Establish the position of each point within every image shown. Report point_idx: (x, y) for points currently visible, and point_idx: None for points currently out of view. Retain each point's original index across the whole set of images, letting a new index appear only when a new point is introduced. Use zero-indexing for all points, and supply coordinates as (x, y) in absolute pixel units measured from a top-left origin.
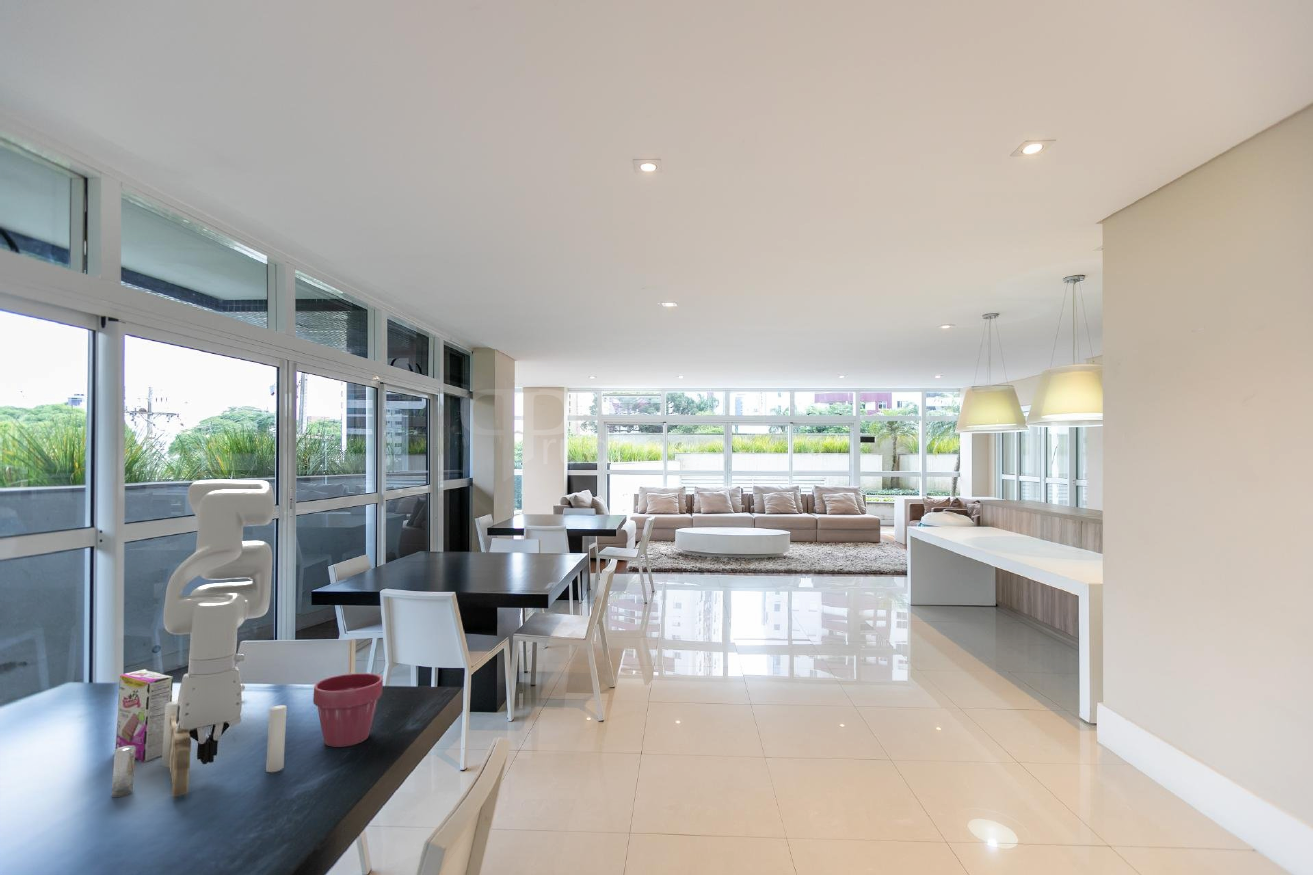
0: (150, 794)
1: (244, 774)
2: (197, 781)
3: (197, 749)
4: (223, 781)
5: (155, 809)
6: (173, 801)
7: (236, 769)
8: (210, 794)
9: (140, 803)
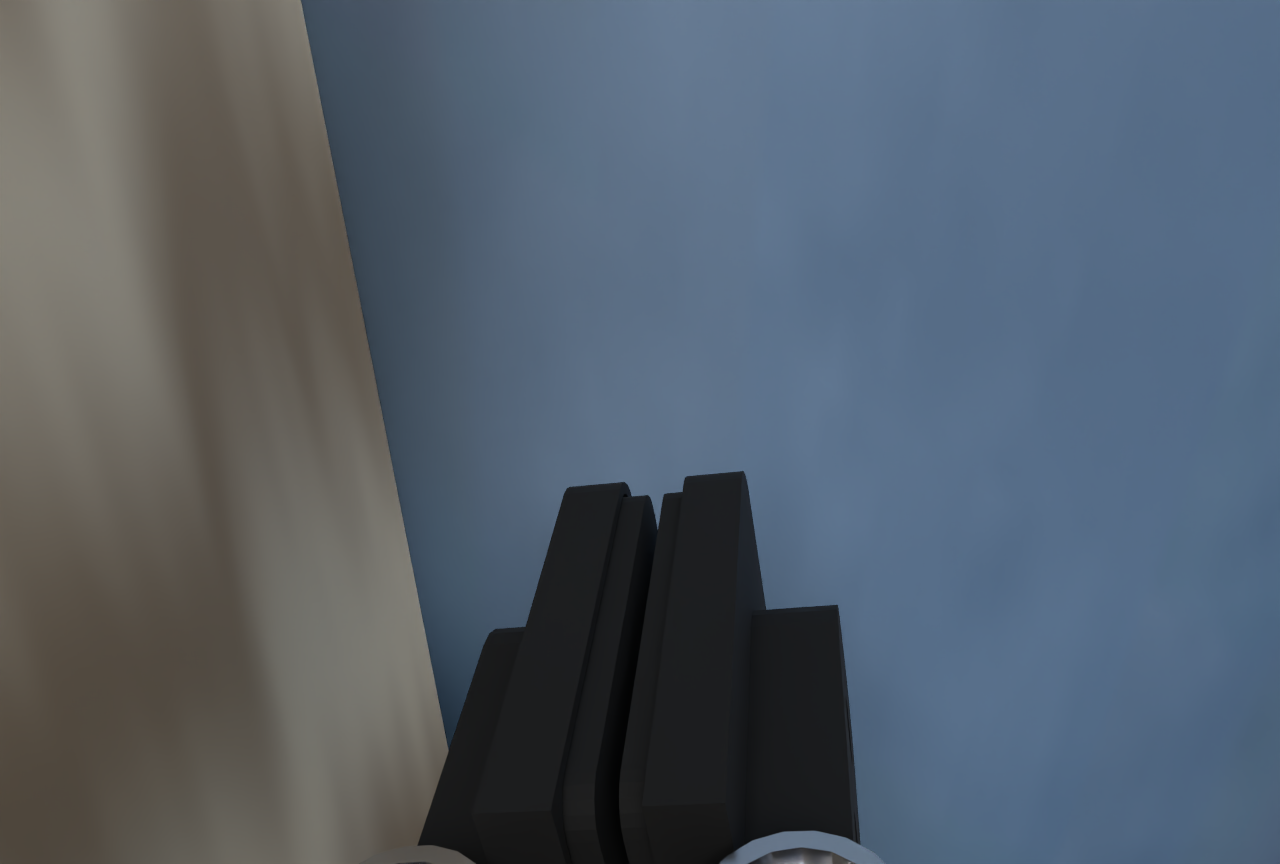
0: None
1: (1211, 545)
2: (600, 399)
3: (458, 738)
4: (911, 604)
5: None
6: None
7: (1180, 277)
8: None
9: None
